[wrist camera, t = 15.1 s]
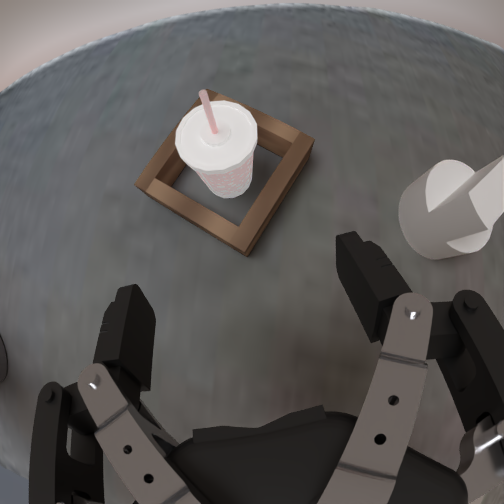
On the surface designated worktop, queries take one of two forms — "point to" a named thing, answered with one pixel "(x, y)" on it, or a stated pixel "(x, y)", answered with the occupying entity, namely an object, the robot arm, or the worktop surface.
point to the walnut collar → (247, 234)
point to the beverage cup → (219, 145)
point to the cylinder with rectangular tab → (452, 208)
